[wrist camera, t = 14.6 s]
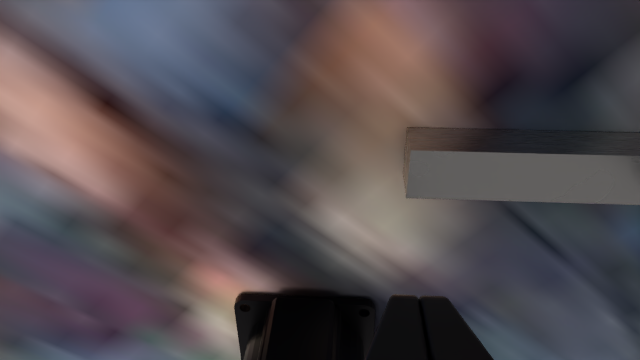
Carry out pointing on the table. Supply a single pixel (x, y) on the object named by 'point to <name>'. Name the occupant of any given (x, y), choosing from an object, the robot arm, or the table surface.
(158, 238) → the table surface
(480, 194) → the press bed
